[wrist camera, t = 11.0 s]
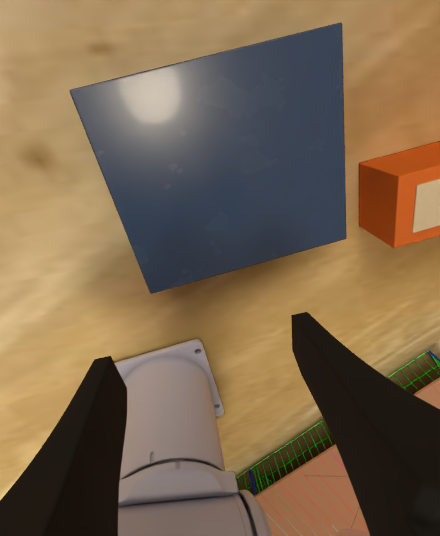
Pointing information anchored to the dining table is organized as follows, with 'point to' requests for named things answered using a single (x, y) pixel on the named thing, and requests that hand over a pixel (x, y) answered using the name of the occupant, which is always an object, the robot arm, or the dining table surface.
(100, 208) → the dining table surface
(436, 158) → the snack box
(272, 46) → the biscuit tin
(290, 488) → the house
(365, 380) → the robot arm
